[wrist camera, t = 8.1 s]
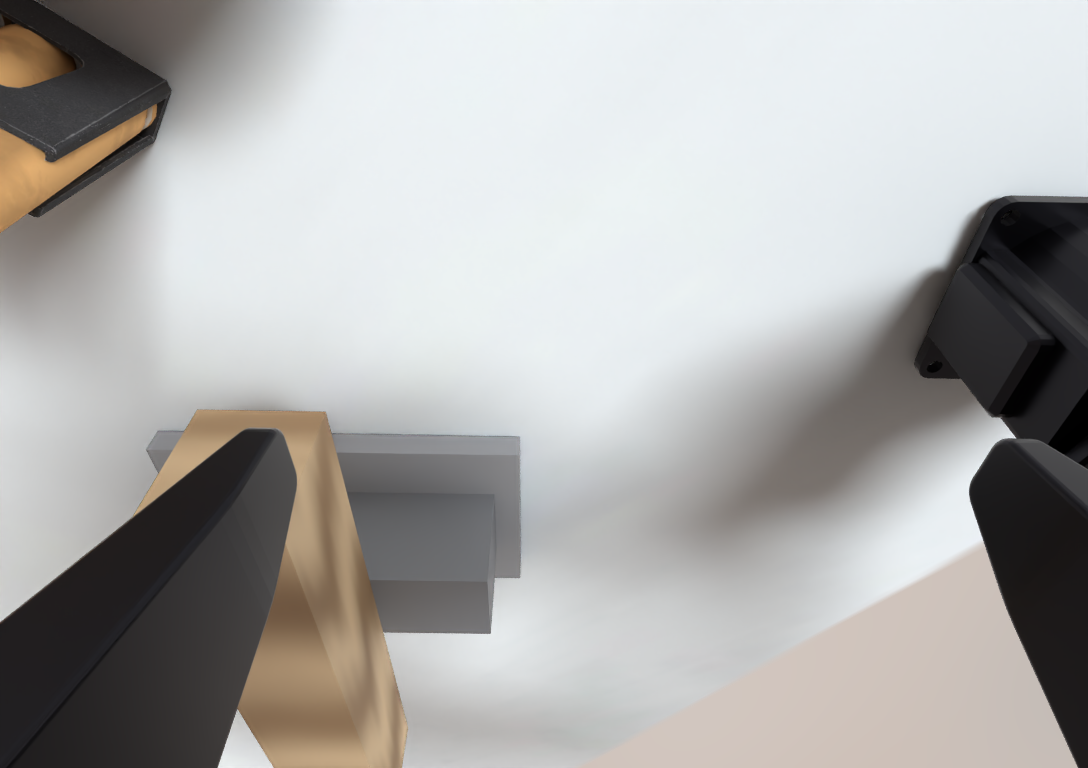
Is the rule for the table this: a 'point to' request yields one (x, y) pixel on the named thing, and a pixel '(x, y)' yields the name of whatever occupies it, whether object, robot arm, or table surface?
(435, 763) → the table surface
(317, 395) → the table surface
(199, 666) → the robot arm
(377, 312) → the table surface
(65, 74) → the ammunition clip
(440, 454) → the grey stepped block
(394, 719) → the beam
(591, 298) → the table surface
